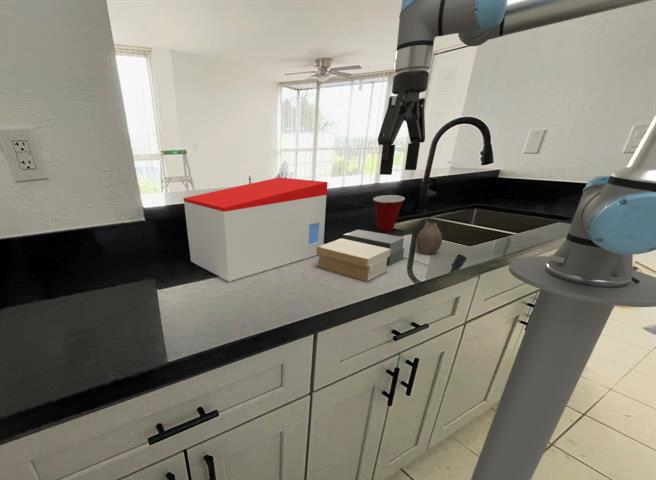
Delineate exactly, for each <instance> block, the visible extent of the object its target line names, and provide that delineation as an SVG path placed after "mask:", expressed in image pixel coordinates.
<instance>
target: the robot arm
mask: <svg viewBox="0 0 656 480" xmlns="http://www.w3.org/2000/svg"><path fill="white" fill-rule="evenodd" d="M651 1H652V0H402V1H401V6H400V12H399V15H398V17H399V23H398V30H397V31H398V32H397V42H396V50H395V51H396V53H395V58H394V60H393V62H394V69H393V72H394V73H395V75H394V76H393V77H392V86H391V93H392V95H390V96H389V97H388V102H387V103H388V104H387V109H386V111H385V114H384V118H383V121H382V125H381V127H380V130H379V133H378V136H377V145H378V146H382V147H381V157H380V167H379V175H382V176H384V175H385V176H391V175H393V167H394V159H395V150H396V144H394V143H395V140H396V139H397V136H398V134H399V132H400V130H401V128H402V125H403V124H404V122H406V126H407V131H408V137H409V142H408V144H407V150H406V158H405V165H404V171H417V167H418V161H419V155H420V147H421V143H425V141H426V122H425V121H426V120H425V119H426V118H425V105H426V97H421V98H420V94H421V93H424V92H426V91H427V90H428V86H429V79H430V72H429V71H428V70H430V68H431V67H432V60H433V54H434V53H433V51H434V45H435V43H434V42H435V40H436V39H435V38H437V37H443V36H449V35H455V34H457V35H458V38H459V40H460V42H461V43H462V44H464V45H465V46H468V47H478V46H481V45H483V44H484V43H486V42H487V41H490V40H493V39H497V38H500V37H505V36H509V35H513V34H516V33H521V32H524V31H531V30H534V29H538V28H542V27H546V26H551V25H555V24H558V23H562V22H563V23H564V22H568V21H571V20H576V19H578V18H579V19H580V18H584V17H588V16H592V15H596V14H600V13H605V12H608V11H612V10H613V11H614V10H617V9H621V8H625V7H629V6H634V5H638V4H641V3H647V2H651ZM648 126H649V127H648V128H647V130H646V131H645V133H644V135H643V137H642V139H641V140H640V142H639V143H638V146H637V147H636V149H635V151H634V153H633V155H632V156H631V158H630V160H629V162H628V163H627V165H626V166H624V167H622V168H620V169H619V170H616V171H614V172H611V174H610V175H609V176H608V175H604V176H603V175H602V176H601V175H600V176H594V177H591V178H590V179H588V181H587V182H586V184H585V187H584V188H583V189H582V194H581V197H580V200H579V202H578V205H577V208H576V211H575V213H574V216H573V219H572V221H571V224H570V226H569V229H568V232H567V234H566V238H565V240H564V241H563V242H562V244H561V245H560V246H559V248H558V249H557V250H556V251H555V252H554V254H550V255H549V256H550V258H549V261H548V262H547V264H546V267H545V271H546V272H547V273H548V274H550V275H552V276H554V277H556V278H559V279H562V280H565V281H568V282H572V283H576V284H581V285H587V286H593V287H602V288H620V287H625V286H628V285H629V283H630V281H631V280H632V281H633V282H635V283H639V282H640V281H639V280H638V279H636V278H634V277H633V276H632V275H633V270H634V268H633V267H634V266H633V263H634V261H633V255H641V254H647V253H651V252H654V251H656V115H654V117H653V119H652V121H651V123H650V125H648Z"/></svg>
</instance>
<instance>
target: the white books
mask: <svg viewBox="0 0 656 480" xmlns="http://www.w3.org/2000/svg"><path fill="white" fill-rule="evenodd" d="M317 262H318V263H317V267H318V268H321V269H324V270H328V271H330V272H334V273H338V274H341V275H344V276H348V277H351V278H354V279H357V280H361V281H364V282H368V281H370V280H372V279H375V278H376V277H378V276H381V275H382V274H384V273H385V272H386V269H387V266H388V265H387V258H385V259H383V260H380V261H378V262H376V263H374V264H372V265H370V266H367V267H364V266H360V265H356V264H353V263H349V262H345V261H341V260H338V259H334V258H330V257H326V256H323V255H319V258H318V261H317Z"/></svg>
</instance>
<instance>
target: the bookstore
mask: <svg viewBox="0 0 656 480" xmlns="http://www.w3.org/2000/svg"><path fill="white" fill-rule="evenodd" d="M327 195H328V181H322V180H320V181H319V180H311V179H302V178H301V179H300V178H289V177H279V176H278V177H275V178H271V179H266V180H265V179H264V180H261V181H257V182H251V183H247V184H241V185H238V186H233V187H229V188H223V189H219V190H215V191H210V192H205V193H201V194H200V193H199V194H195V195H191V196H187V197H183V205H184V214H185V222H186V231H187V239H188V247H189V256H190V262H191V263H193V264H195V265H197V266H198V267H200V268H202V269H204V270H206V271H208V272H210V273H212V274H214V275H215V276H218V277H219V278H221V279H223V280H225V281H227V282H231V281H236V280H238V279H242V278H244V277H248V276H251V275H254V274H258V273H261V272H265V271H268V270H271V269H274V268H279V267H281V266H285V265H288V264H292V263H295V262H298V261H302V260H305V259H308V258H312V257H315V256H318V255H319V254H316V252H317V247H318V246H321V245H324V244H325V241H324V240H325V227H326V225H325V224H326V208H327ZM319 256H320V255H319Z"/></svg>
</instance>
